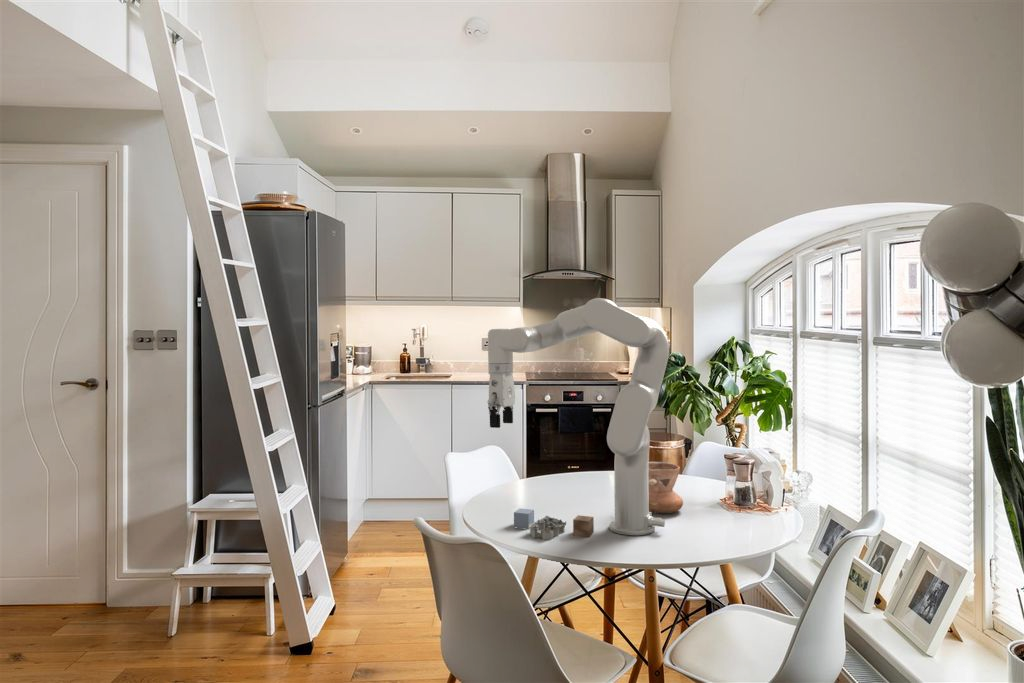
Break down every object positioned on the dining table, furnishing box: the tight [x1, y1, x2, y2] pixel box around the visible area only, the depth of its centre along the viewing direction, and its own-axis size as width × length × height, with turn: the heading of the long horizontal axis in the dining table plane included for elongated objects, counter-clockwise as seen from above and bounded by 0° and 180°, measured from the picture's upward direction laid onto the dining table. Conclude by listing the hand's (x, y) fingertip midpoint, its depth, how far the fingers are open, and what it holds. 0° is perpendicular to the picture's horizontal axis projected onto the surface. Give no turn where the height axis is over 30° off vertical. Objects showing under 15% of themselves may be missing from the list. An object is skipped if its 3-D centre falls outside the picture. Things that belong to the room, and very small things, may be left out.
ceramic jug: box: [649, 461, 684, 515], centre depth 199 cm, size 18×14×14 cm
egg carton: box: [528, 515, 568, 541], centre depth 177 cm, size 11×8×4 cm
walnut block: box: [572, 514, 595, 538], centre depth 176 cm, size 4×4×4 cm
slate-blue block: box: [513, 507, 535, 530], centre depth 184 cm, size 4×4×4 cm
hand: (501, 425), depth 195 cm, fingers open, 9 cm apart
